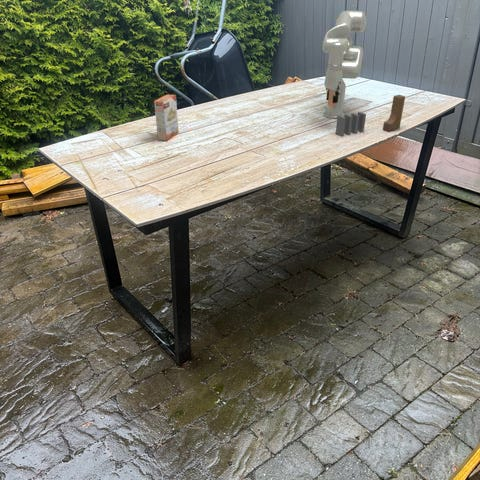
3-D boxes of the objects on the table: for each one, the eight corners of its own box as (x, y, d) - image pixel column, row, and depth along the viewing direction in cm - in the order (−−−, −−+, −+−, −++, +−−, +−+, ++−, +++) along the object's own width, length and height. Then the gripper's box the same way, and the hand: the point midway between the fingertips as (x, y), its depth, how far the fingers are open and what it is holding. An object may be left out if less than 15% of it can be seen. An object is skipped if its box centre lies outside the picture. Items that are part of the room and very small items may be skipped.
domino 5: (355, 129, 252) (357, 111, 247) (357, 129, 253) (360, 111, 247) (361, 132, 248) (363, 114, 243) (363, 132, 249) (366, 114, 244)
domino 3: (342, 132, 249) (344, 114, 244) (344, 131, 250) (346, 113, 244) (347, 135, 245) (350, 116, 240) (350, 134, 246) (352, 116, 240)
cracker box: (167, 141, 240) (163, 101, 229) (157, 140, 242) (153, 100, 230) (179, 133, 251) (176, 94, 240) (169, 131, 253) (166, 93, 241)
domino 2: (335, 133, 247) (337, 115, 242) (337, 133, 248) (339, 115, 243) (341, 136, 244) (343, 118, 238) (343, 135, 244) (345, 117, 239)
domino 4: (348, 131, 251) (351, 113, 245) (351, 130, 251) (353, 112, 246) (354, 133, 247) (356, 115, 241) (357, 133, 247) (359, 115, 242)
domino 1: (327, 105, 253) (329, 87, 247) (330, 104, 253) (331, 86, 248) (332, 107, 249) (334, 89, 243) (335, 107, 250) (337, 89, 244)
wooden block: (388, 132, 249) (394, 98, 239) (382, 129, 252) (387, 97, 242) (399, 128, 253) (405, 96, 243) (393, 126, 256) (399, 94, 246)
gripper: (320, 64, 244) (317, 98, 255) (339, 71, 232) (335, 106, 242) (331, 62, 247) (328, 96, 257) (351, 69, 234) (347, 104, 244)
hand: (332, 101), depth 249 cm, fingers closed on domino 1, 4 cm apart
